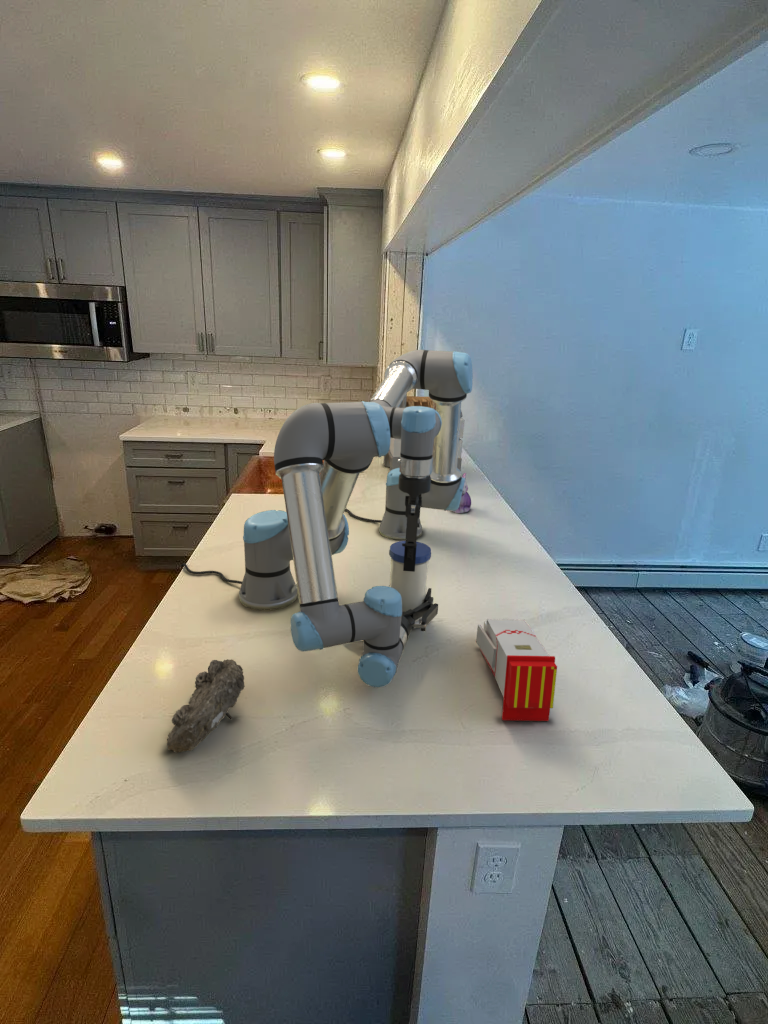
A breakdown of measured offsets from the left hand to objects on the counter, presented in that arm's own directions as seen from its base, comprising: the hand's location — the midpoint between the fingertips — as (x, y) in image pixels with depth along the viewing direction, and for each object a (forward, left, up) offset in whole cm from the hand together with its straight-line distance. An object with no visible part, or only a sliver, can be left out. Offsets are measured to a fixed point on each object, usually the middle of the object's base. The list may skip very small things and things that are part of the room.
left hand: (410, 590), depth 147 cm
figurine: (+4, +85, -6) cm, 86 cm away
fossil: (-28, -51, -6) cm, 59 cm away
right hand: (0, -4, +10) cm, 11 cm away
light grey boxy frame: (-21, +132, -6) cm, 134 cm away
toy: (+26, -22, -6) cm, 35 cm away
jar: (0, -4, -6) cm, 8 cm away
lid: (0, -4, +13) cm, 14 cm away
